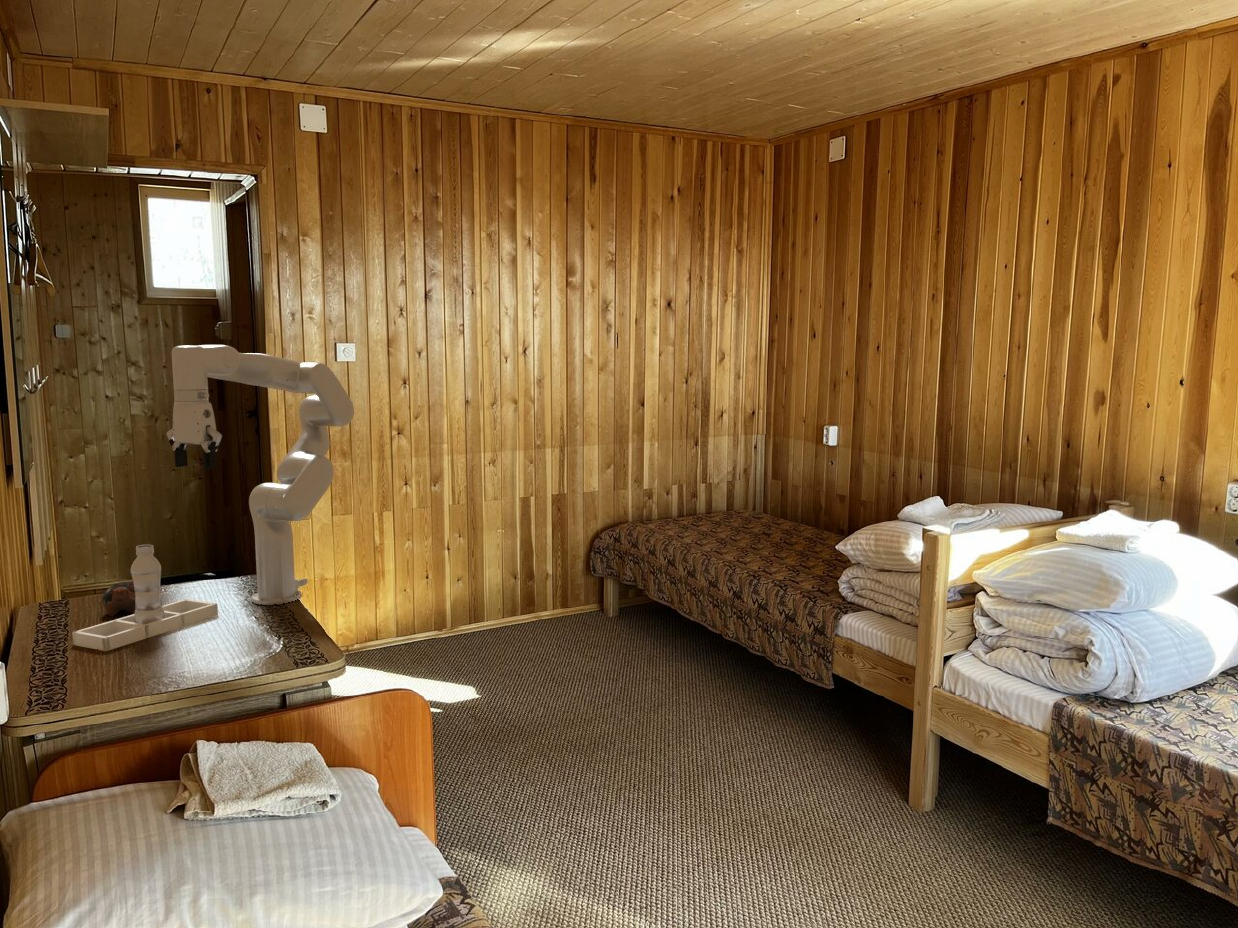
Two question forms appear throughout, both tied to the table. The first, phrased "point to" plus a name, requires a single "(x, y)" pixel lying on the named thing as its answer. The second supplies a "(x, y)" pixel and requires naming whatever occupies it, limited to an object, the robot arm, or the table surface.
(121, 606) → the decorative turtle
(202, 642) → the table surface
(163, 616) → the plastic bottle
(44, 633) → the table surface
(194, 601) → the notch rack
